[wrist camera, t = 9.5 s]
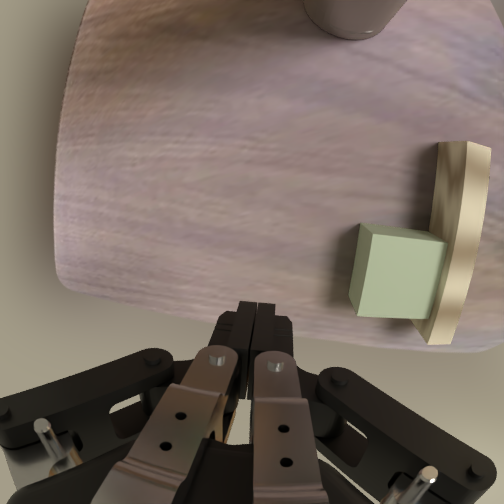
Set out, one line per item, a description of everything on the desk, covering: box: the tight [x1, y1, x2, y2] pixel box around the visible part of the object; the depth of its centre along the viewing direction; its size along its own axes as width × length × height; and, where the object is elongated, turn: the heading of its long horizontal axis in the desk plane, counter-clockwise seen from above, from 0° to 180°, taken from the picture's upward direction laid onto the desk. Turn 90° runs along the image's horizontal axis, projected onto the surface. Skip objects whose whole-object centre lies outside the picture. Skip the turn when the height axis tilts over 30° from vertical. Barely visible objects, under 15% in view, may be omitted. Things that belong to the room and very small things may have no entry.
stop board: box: [410, 141, 491, 345], centre depth 27 cm, size 20×3×6 cm, turn 177°
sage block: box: [348, 223, 448, 319], centre depth 29 cm, size 8×8×5 cm
